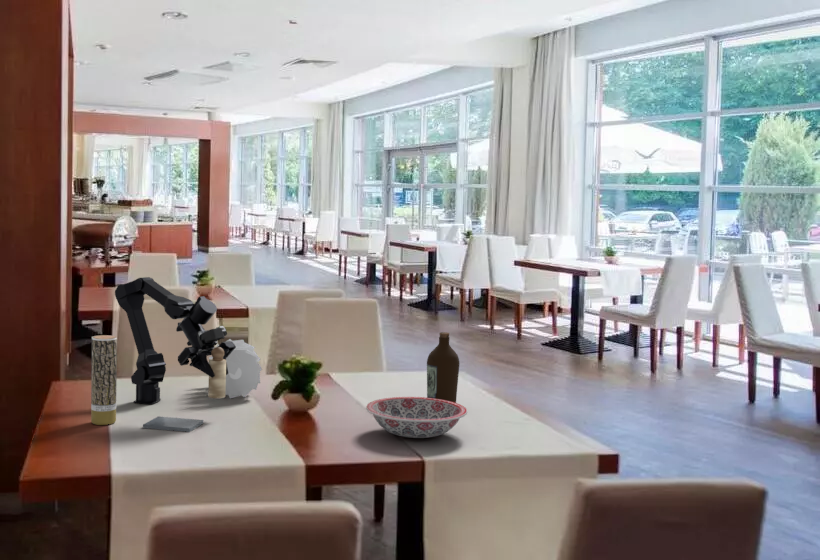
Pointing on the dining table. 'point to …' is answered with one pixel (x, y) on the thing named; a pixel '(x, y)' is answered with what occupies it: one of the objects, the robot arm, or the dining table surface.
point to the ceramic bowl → (416, 415)
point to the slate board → (173, 424)
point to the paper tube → (103, 379)
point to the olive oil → (442, 371)
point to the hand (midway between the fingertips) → (220, 375)
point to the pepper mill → (217, 374)
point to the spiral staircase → (242, 369)
